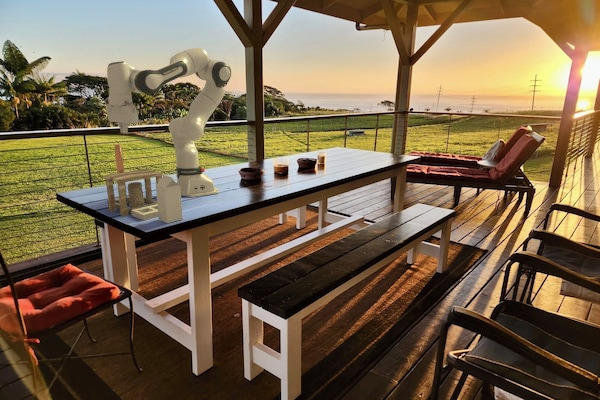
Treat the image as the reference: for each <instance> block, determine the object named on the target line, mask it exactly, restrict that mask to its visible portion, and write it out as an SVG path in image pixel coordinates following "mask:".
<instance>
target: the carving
mask: <svg viewBox="0 0 600 400" xmlns="http://www.w3.org/2000/svg"><path fill="white" fill-rule="evenodd" d="M127 193H128V194H127V195H128V196H129V203H128V204H129V208H134V207H139V206H143V205H146V203H144V197H145V196H144V192H143V185H142V182H138V181H135V182H129V183H128V184H127Z"/></svg>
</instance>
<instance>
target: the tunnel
mask: <svg viewBox="0 0 600 400" xmlns="http://www.w3.org/2000/svg"><path fill="white" fill-rule="evenodd" d="M163 175H164V174H163V172H160V171H156V170H153V169H148V168H145V169H144V168H143V169H139V170H138V169H137V170H131V171H130V170H129V171H124V172H123V173H117V172H116V173H111V174H105V175H104V178H105V183H106V184H105V185H106V192H107V200H108V202H109V206H108V209H109V212H111V213H112V212H116V211H117V209H116V205H115V199H116V198H115V197H116V196H115V189H114V182H116V184H117V192H118V198H119V202H120V210H119V211H120V216H121V217H126V216H129V215H128V213H127V207H128V205H127V204H128V203H126V194H127V193H126V194H125V185H124V182H125V183H127V182H132V181H138V180H143V181H144V191H145V198H148V199H151V200H153V194H152V184H151V183H152V182H151V178H155V186H156V185H157V183H158V182H159V181H160V180H161V179H162V178H163Z"/></svg>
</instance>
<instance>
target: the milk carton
mask: <svg viewBox="0 0 600 400" xmlns="http://www.w3.org/2000/svg"><path fill="white" fill-rule="evenodd" d="M155 190H156V201H157V205H158V217H157V218H158V220H159V221H161V222H164V223H166V224H171V223H173V222H178V221H182V220H183V207H182V196H181V188H180V185H179V184H178V183H177V180H176V178H174V177H172V176H169V175H166V174H163V175H162V179H161V180H160V181H159V182H158V183H157V185H156V184H155Z"/></svg>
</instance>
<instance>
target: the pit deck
mask: <svg viewBox="0 0 600 400" xmlns="http://www.w3.org/2000/svg"><path fill="white" fill-rule="evenodd" d="M131 213H132V214H131V216H132V217H135V218H137V219H139V220H143V221H148V220H151V219H155V218H159V217H158V205H157V204H155V205H151V206H146V207H142V208H138V209H134V210H131Z"/></svg>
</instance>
